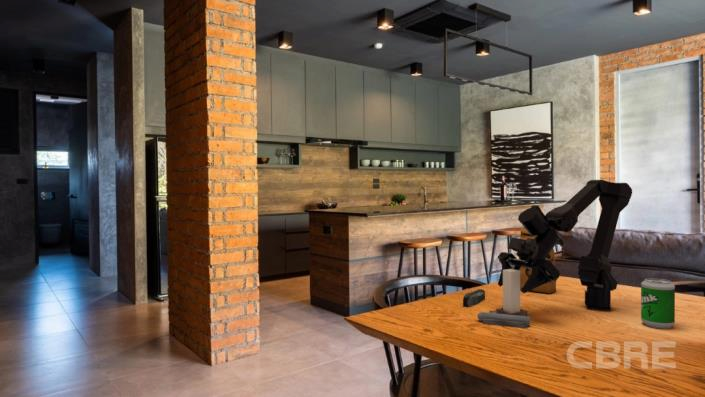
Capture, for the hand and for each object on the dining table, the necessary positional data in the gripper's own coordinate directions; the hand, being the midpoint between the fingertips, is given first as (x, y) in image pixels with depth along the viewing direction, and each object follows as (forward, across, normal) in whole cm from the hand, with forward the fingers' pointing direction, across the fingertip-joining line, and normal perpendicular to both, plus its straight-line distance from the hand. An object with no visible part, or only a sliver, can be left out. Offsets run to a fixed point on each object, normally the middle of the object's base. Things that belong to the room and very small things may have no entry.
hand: (510, 288), depth 129 cm
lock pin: (+5, 0, +6) cm, 8 cm away
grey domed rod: (+9, +4, +2) cm, 10 cm away
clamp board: (+8, +1, +6) cm, 10 cm away
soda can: (-17, +19, +30) cm, 39 cm away
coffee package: (-18, -26, +32) cm, 45 cm away
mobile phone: (+6, -17, +8) cm, 20 cm away
